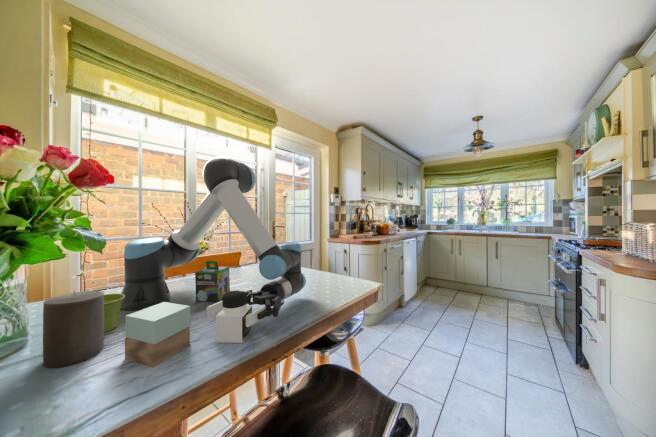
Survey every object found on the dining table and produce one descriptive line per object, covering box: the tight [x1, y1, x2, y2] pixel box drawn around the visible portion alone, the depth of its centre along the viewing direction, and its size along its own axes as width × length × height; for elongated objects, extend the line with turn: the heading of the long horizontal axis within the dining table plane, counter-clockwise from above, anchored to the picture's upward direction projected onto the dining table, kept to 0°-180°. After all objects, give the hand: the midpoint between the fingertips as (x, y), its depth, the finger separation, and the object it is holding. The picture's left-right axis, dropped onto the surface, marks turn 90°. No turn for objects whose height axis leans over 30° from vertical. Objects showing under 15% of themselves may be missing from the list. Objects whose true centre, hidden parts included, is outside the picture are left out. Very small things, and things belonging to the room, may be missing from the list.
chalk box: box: [194, 260, 231, 303], centre depth 92 cm, size 9×9×15 cm
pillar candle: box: [42, 290, 105, 369], centre depth 55 cm, size 10×10×15 cm
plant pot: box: [104, 293, 125, 333], centre depth 67 cm, size 9×9×9 cm
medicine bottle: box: [215, 289, 253, 344], centre depth 64 cm, size 7×7×12 cm
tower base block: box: [124, 325, 191, 368], centre depth 56 cm, size 9×9×5 cm
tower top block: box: [125, 301, 191, 344], centre depth 56 cm, size 9×9×5 cm
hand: (226, 316), depth 61 cm, fingers open, 13 cm apart
